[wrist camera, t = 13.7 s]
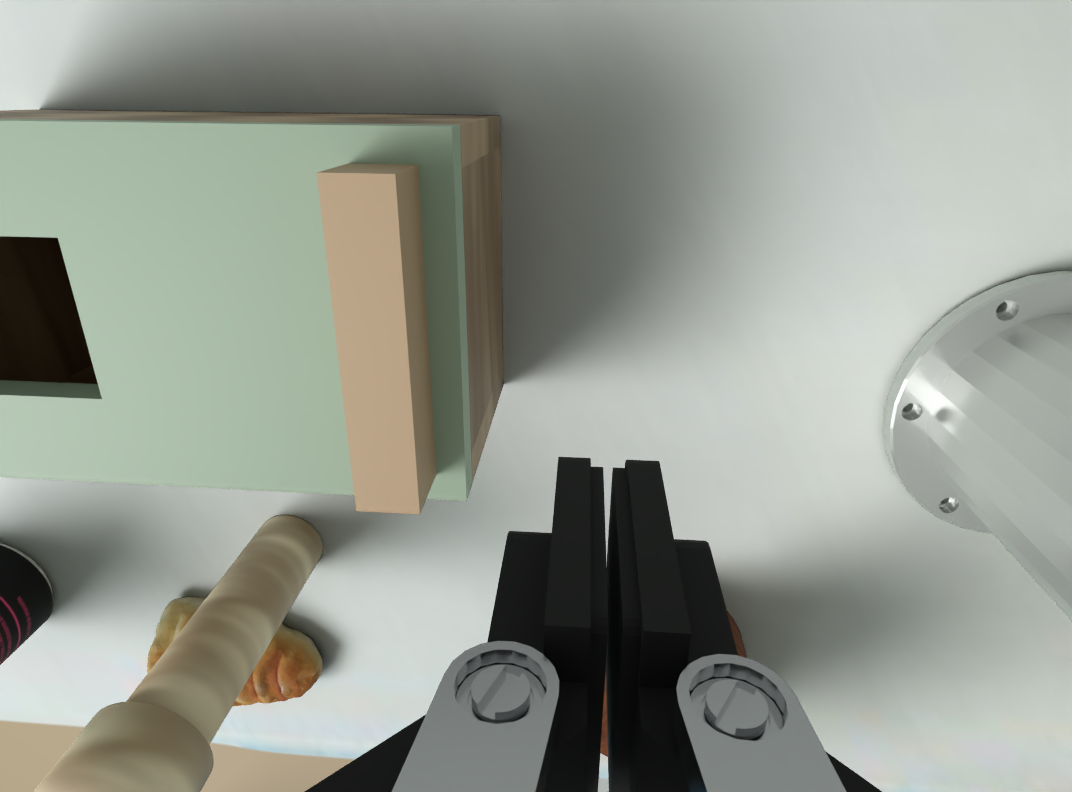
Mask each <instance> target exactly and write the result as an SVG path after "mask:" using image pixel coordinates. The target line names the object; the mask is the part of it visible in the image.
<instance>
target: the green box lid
mask: <svg viewBox="0 0 1072 792" xmlns="http://www.w3.org/2000/svg"><path fill="white" fill-rule="evenodd" d="M0 236H11V237H50V238H58V241H59V244H60V248H61V251H62V255H63V259H64V262H65V266H66V270H67V273H68V277H69V281H70V284H71V288H72V291H73V295H74V299H75V302H76V306H77V310H78V313H79V317H80V321H81V324H82V328H83V332H84V335H85V339H86V342H87V346H88V350H89V353H90V357H91V361H92V364H93V368H94V372H95V375H96V379H97V382H98V384H82V383H57V382H33V381H9V380H0V477H9V478H28V479H47V480H67V481H86V482H106V483H125V484H144V485H164V486H183V487H202V488H222V489H241V490H260V491H280V492H299V493H318V494H338V495H354V497H355V506H356V511H365V512H383V513H402V514H420V513H421V510H422V508H423V506H424V503H425V501H426V499H435V500H454V501H467V498H468V495H469V492H470V489H471V486H472V459H471V429H470V400H469V371H468V341H467V312H466V283H465V253H464V224H463V195H462V165H461V136H460V125H444V124H367V123H289V122H212V121H135V120H57V119H0Z"/></svg>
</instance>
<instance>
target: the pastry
mask: <svg viewBox="0 0 1072 792" xmlns="http://www.w3.org/2000/svg"><path fill="white" fill-rule="evenodd" d="M204 600H205V598H200V597H184V598H178V599H174V600H173V601H171V602H170V603H169V604H168V605H167V607H166V608H165V610H164V612H163V614H162V616H161V618H160V622H159V623H158V625H157V628H156V636H155V639H154V642H153V644H152V646H151V648H150V651H149V654H148V666H147V667H148V670H147V671H148V673H149V672H150V670H151V669H152V668H153V666H154V665H155V664H156V662H157V661H158V660H159V659H160V657H161V656H162V655H163V653H164V652H165V651H166V650H167V648H168V647H169V646H170V644H171V643H172V642H173V640H174V639H175V638H176V637H177V635H178V634H179V633H180V631H181V630H182V629H183V628H184V626H185V625H186V624H187V622H188V621H189V620H190V618H191V617H192V616H193V615H194V613H195V612H196V611H197V609H198V608H199V607H200V606H201V604H202V603H203V602H204ZM322 668H323V662H322V658H321V656H320V654H319V652H318V650H317V648H316V646H315V645H314V643H313V641H312V640H311V639H310V638H309V637H308V636H306V635H305V634H304V633H302V632H300V631H297V630H294V629H291V628H288V627H287V626H285V625H283V624H282V623H281V625H280V627H279V628H278V630H277V632H276V633H275V635H274V637H273V638H272V640H271V642H270V643H269V645H268V647H267V648H266V650H265V652H264V653H263V655H262V657H261V659H260V660H259V662H258V664H257V665H256V667H255V669H254V670H253V672H252V674H251V675H250V677H249V679H248V680H247V682H246V684H245V685H244V687H243V689H242V691H241V692H240V694H239V696H238V697H237V699H236V701H235V702H234V704H233V706H239V705H251V704H254V703H257V702H260V703H272V702H276V701H285V700H287V699H290V698H293V697H301V696H302V695H303V694H304V693H305V692H306V691H308V690H309V689H310V688H311V687H312V686H313V684H314V683H315V682H316V681H317V679H318V678H319V676H320V675H321V673H322Z"/></svg>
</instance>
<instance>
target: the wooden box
mask: <svg viewBox="0 0 1072 792" xmlns="http://www.w3.org/2000/svg"><path fill="white" fill-rule="evenodd" d="M0 119H57V120H135V121H212V122H289V123H367V124H444V125H460V136H461V165H462V195H463V224H464V253H465V283H466V312H467V341H468V371H469V400H470V429H471V459H472V482H473V479H474V476H475V473H476V470H477V467H478V463H479V460H480V457H481V454H482V451H483V448H484V444H485V441H486V438H487V435H488V432H489V429H490V426H491V422H492V419H493V416H494V413H495V410H496V407H497V403H498V400H499V397H500V394H501V391H502V388H503V312H502V227H501V142H500V115H449V114H364V113H280V112H196V111H112V110H10V111H0ZM0 380H9V381H33V382H57V383H82V384H98V382H97V379H96V375H95V372H94V368H93V364H92V361H91V357H90V353H89V350H88V346H87V342H86V339H85V335H84V332H83V328H82V324H81V321H80V317H79V313H78V310H77V306H76V302H75V299H74V295H73V291H72V288H71V284H70V281H69V277H68V273H67V270H66V266H65V262H64V259H63V255H62V251H61V248H60V244H59V241H58V238H50V237H11V236H0Z"/></svg>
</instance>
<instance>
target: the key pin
mask: <svg viewBox="0 0 1072 792" xmlns="http://www.w3.org/2000/svg"><path fill="white" fill-rule="evenodd" d="M322 552H323V543H322V539H321V537H320V535H319V533H318V532H317V531H316V529H315V528H314V527H313V526H312V525H310V524H309V523H308V522H306V521H304V520H303V519H300V518H298V517H295V516H290V515H280V516H275V517H272V518H270V519H269V520H267V521H266V522H265V523H264V524H263V525H262V527H261V528H260V529H259V530H258V532H257V533H256V534H255V536H254V537H253V538H252V540H251V541H250V542H249V543H248V545H247V546H246V547H245V549H244V550H243V551H242V552H241V554H240V555H239V556H238V558H237V559H236V560H235V562H234V563H233V564H232V565H231V567H230V568H229V569H228V571H227V572H226V573H225V574H224V576H223V577H222V578H221V580H220V581H219V582H218V584H217V585H216V586H215V587H214V589H213V590H212V591H211V593H210V594H209V595H208V596H207V598H206V599H205V600H204V602H203V603H202V604H201V606H200V607H199V608H198V609H197V611H196V612H195V613H194V615H193V616H192V617H191V618H190V620H189V621H188V622H187V624H186V625H185V626H184V628H183V629H182V630H181V631H180V633H179V634H178V635H177V637H176V638H175V639H174V640H173V642H172V643H171V644H170V646H169V647H168V648H167V650H166V651H165V652H164V653H163V655H162V656H161V657H160V659H159V660H158V661H157V662H156V664H155V665H154V666H153V668H152V669H151V670H150V672H149V673H148V674H147V675H146V677H145V678H144V679H143V681H142V682H141V683H140V684H139V686H138V687H137V688H136V690H135V691H134V692H133V694H132V695H131V696H130V697H129V699H128V700H127V701H126V702H120V703H115V704H112V705H109V706H107V707H105V708H103V709H101V710H100V711H99V712H98V713H97V714H96V715H95V716H94V717H93V718H92V720H91V721H90V722H89V723H88V725H87V726H86V727H85V728H84V730H83V731H82V732H81V733H80V735H79V736H78V737H77V738H76V739H75V741H74V742H73V743H72V744H71V746H70V747H69V748H68V749H67V751H66V752H65V753H64V755H63V756H62V757H61V758H60V759H59V761H58V762H57V763H56V765H55V766H54V767H53V768H52V770H50V772H49V773H48V774H47V776H46V777H45V778H44V779H43V780H42V782H41V783H40V784H39V785H38V787H37V788H36V789H35V790H34V792H200V791H201V789H202V788H203V786H204V784H205V782H206V781H207V779H208V777H209V775H210V773H211V771H212V768H213V754H212V750H211V748H210V746H209V744H210V743H211V741H212V739H213V738H214V736H215V734H216V733H217V731H218V729H219V728H220V726H221V724H222V723H223V721H224V719H225V717H226V716H227V714H228V712H229V711H230V709H231V707H232V706H233V704H234V702H235V701H236V699H237V697H238V696H239V694H240V692H241V691H242V689H243V687H244V685H245V684H246V682H247V680H248V679H249V677H250V675H251V674H252V672H253V670H254V669H255V667H256V665H257V664H258V662H259V660H260V659H261V657H262V655H263V653H264V652H265V650H266V648H267V647H268V645H269V643H270V642H271V640H272V638H273V637H274V635H275V633H276V632H277V630H278V628H279V627H280V625H281V623H282V622H283V620H284V618H285V616H286V615H287V613H288V611H289V610H290V608H291V606H292V605H293V603H294V601H295V600H296V598H297V596H298V595H299V593H300V591H301V590H302V588H303V586H304V584H305V583H306V581H307V579H308V578H309V576H310V574H311V573H312V571H313V569H314V568H315V566H316V564H317V563H318V561H319V559H320V558H321V555H322Z"/></svg>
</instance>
